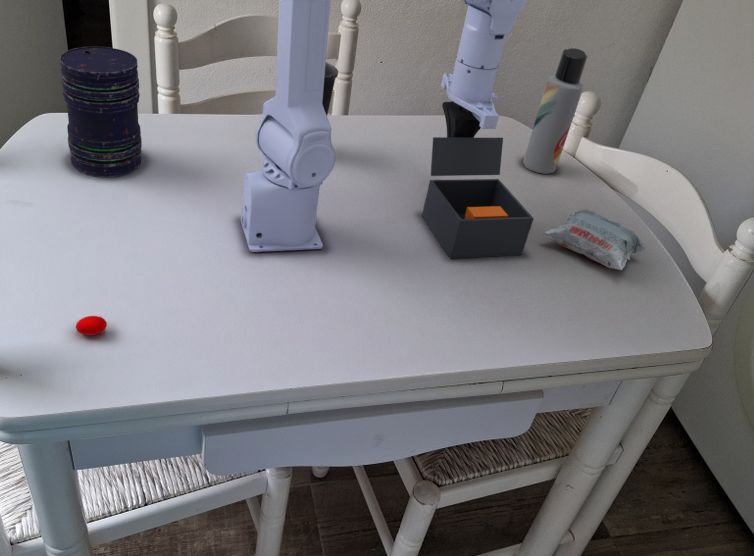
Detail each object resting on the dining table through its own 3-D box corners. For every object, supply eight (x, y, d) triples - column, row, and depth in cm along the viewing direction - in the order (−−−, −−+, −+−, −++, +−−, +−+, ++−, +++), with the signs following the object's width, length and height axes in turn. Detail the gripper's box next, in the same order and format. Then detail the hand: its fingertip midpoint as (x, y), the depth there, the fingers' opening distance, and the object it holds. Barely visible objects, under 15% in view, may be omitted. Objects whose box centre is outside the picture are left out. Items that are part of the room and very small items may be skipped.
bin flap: (431, 176, 98) (430, 175, 98) (499, 175, 101) (498, 174, 102) (433, 137, 96) (432, 137, 97) (503, 137, 100) (502, 137, 100)
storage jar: (156, 166, 103) (153, 65, 94) (95, 184, 96) (86, 78, 88) (116, 140, 108) (110, 42, 99) (56, 156, 101) (43, 52, 92)
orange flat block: (465, 248, 96) (474, 216, 93) (458, 238, 98) (467, 207, 95) (498, 246, 97) (508, 215, 94) (491, 236, 99) (500, 205, 96)
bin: (421, 216, 102) (429, 179, 98) (488, 213, 105) (498, 178, 102) (450, 258, 94) (460, 220, 90) (521, 254, 97) (533, 218, 94)
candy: (107, 326, 74) (106, 312, 73) (106, 339, 72) (105, 324, 71) (77, 327, 73) (75, 313, 72) (75, 340, 72) (73, 326, 70)
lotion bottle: (559, 167, 122) (598, 52, 111) (548, 178, 118) (588, 60, 107) (529, 155, 124) (564, 42, 113) (517, 166, 120) (552, 49, 109)
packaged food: (616, 283, 94) (629, 253, 92) (538, 244, 100) (549, 214, 97) (640, 261, 100) (653, 232, 97) (565, 225, 106) (576, 196, 103)
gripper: (528, 83, 90) (501, 177, 98) (481, 44, 101) (460, 132, 109) (479, 82, 88) (455, 178, 96) (436, 42, 99) (418, 132, 107)
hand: (455, 154), depth 102 cm, fingers closed
